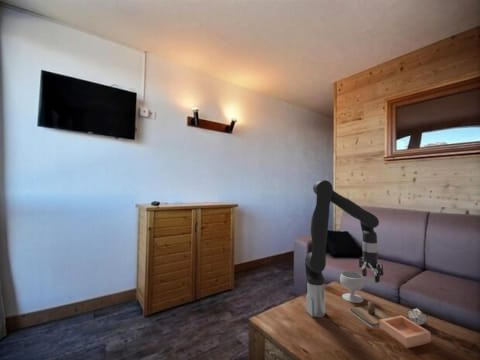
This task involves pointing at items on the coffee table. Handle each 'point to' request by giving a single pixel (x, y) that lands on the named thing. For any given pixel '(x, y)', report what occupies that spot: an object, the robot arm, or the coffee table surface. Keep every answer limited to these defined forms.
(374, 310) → the lid
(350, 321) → the coffee table surface
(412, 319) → the game die
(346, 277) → the chalice
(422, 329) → the pink square tray
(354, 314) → the mat
